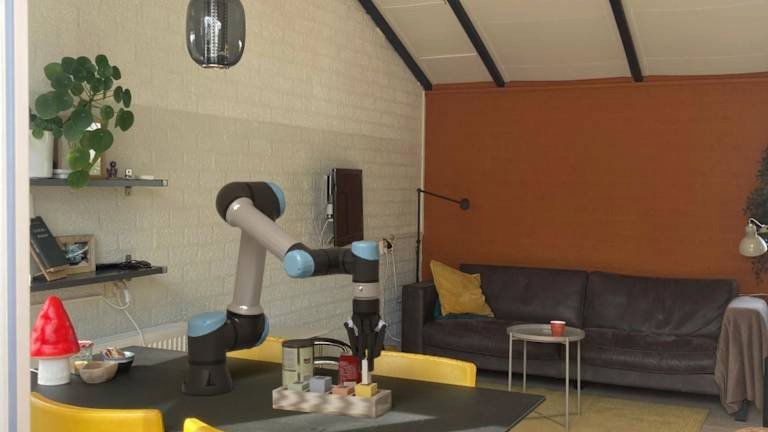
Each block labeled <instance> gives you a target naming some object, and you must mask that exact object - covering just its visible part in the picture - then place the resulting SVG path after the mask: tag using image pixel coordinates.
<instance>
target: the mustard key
mask: <svg viewBox="0 0 768 432" xmlns="http://www.w3.org/2000/svg"><path fill="white" fill-rule="evenodd" d="M377 389H378V383H377V382H376V383H375V382H371V383H369V384H362V381H361V383H359V384H357V385H356V386H355V396H356V397H366V398H372V397H373V396H375V395H377Z"/></svg>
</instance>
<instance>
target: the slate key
mask: <svg viewBox="0 0 768 432" xmlns="http://www.w3.org/2000/svg"><path fill="white" fill-rule="evenodd" d="M332 385H333V384H332V376H322V375H315V377H313V378H311V379H310V392H313V393H326V392H328V391H330V390H332Z"/></svg>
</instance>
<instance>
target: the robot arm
mask: <svg viewBox="0 0 768 432" xmlns="http://www.w3.org/2000/svg"><path fill="white" fill-rule="evenodd" d="M215 209H216V211H217V213H218V216H219V217H220V218H221V219H222V220H223V221H224V222H225V223H226V224H227V225H229V226H230V227H232V228H239V229H240V230H241V231H240V238H239V239H240V240H239V247H238V254H237V261H236V262H237V263H236V264H237V265H236V272H235V279H234V287H233V294H232V301H231V302H230V303H229V304H227V305H226V313H225V312H224V311H220V310H219V311H218V310H217V311H216V310H214V311H213V310H211V311H205V312H200V313H197V314H194V315H192V316H191V317H190V318H189V319H188V321H187V329H186V335H187V367H186V370H185V374H184V377H183V380H182V383H181V388H182V389H181V392H182V393H183V394H186V395H191V396H212V395H214V396H215V395H221V394H226V393H229V392H230V391H232V390H233V379H232V377H231V373H230V371H229V367H228V365H227V363H228V362H227V353H232V352H238V351H244V350H251V349H253V348H257V347H259V346H261V345H262V344H264V343H265V341H266V340H267V338H268V336H269V331H270V323H269V321H268V320H269V318H268V316H267V315H266V313H264V311H265V310H264V308H263V307H262V305H261V299H262V298H261V297H262V290H263V283H264V275H265V267H266V266H265V265H266V259H267V252H269V253H270V254H271V255H273V256H274V257H276V259H278V260H279V261H281V262H282V263H283V270H284V271H285V273H286V275H287V276H288V277H289V278H292V279H307V278H309V279H310V278H313V277H314V278H315V277H325V276H334V275H349V276H351V279H352V280H351V283H352V285H351V286H352V287H351V289H352V295H351V296H352V297H354V298H352V301H351V302H352V309H351V310H352V315H351V317H350V319H349V320H348V321H344V322H343V327H344V328H345V330H346V332H347V337H348V341H349V345H350V351H352V355H353V357H357V358H358V359H359V370H360V371H361V382H362V384H369V383H372V372H374V371H375V359H379V358H380V357H381V356H382V351H383V345H384V341H385V337H386V333H387V330H388V329H389V328H390V323H387V322H384V320H382V316H381V313H380V312H381V311H380V310H381V307H380V306H381V304H380V303H381V302H380V298H379V296H380V295H381V293H380V289H381V288H380V261H381V259H380V258H381V256H380V246H379V243H378V242H377V241H375V240H374V241H372V240H368V241H367V240H364V241H362V240H359V241H353V242H352V243H351V247H340V246H328V247H323V248H310V247H308V246H307V245H306V244H304V243H303V242H301V241H300V240H299V239H297V238H296V237H294V235H292V234H291V233H290V232H288V231H287V230H286V229H284V228H283V227H281V226H280V225H279V224H278V223H277V222H276V220H278V219H280V218H282V215H284V213H285V211H286V198H285V194H284V192H282V188H280V186H279V185H277V184H276V183H274V182H271V181H263V180H262V181H231V182H228V183H227V184H224V185H223V186H222V187H221V188H220V189H219V191H218V192H217V195H216V197H215ZM354 327H355V328H356V329H357V333H356V331H355V328H354ZM377 327H378V332H377V337H376V340H375V334H376V328H377ZM356 334H357V335H356ZM357 336H358V338H357Z"/></svg>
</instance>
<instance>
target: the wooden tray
mask: <svg viewBox="0 0 768 432" xmlns="http://www.w3.org/2000/svg"><path fill="white" fill-rule="evenodd" d="M288 384H289V383H288ZM336 386H338V385H335V384H332V388H334V387H336ZM272 409H277V410H286V411H288V410H289V411H296V412H305V413H313V414H325V415H332V416H333V415H335V416H336V415H337V416H343V417H344V416H345V417H352V418H353V417H354V418H361V419H362V418H363V419H371V420H373V419H374V420H375V419H377V418H379V417H381V415H384V413H386V412H387V411H389V410H391V409H392V390H390V389H389V390H388V389H380V388H377V395H375V396H373V397H372V398H366V397H356V396H355V387H354V392H353V393H352V394H350V395H348V396H345V395H334V394H332V390H330V391H328V392H326V393H313V392H310V383H309V388H308V389H306V390H304V391H292V390H288V388H287V384H286V385H284V386H283V385H281V386H279V387H278V388H276V389H273V390H272Z"/></svg>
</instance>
